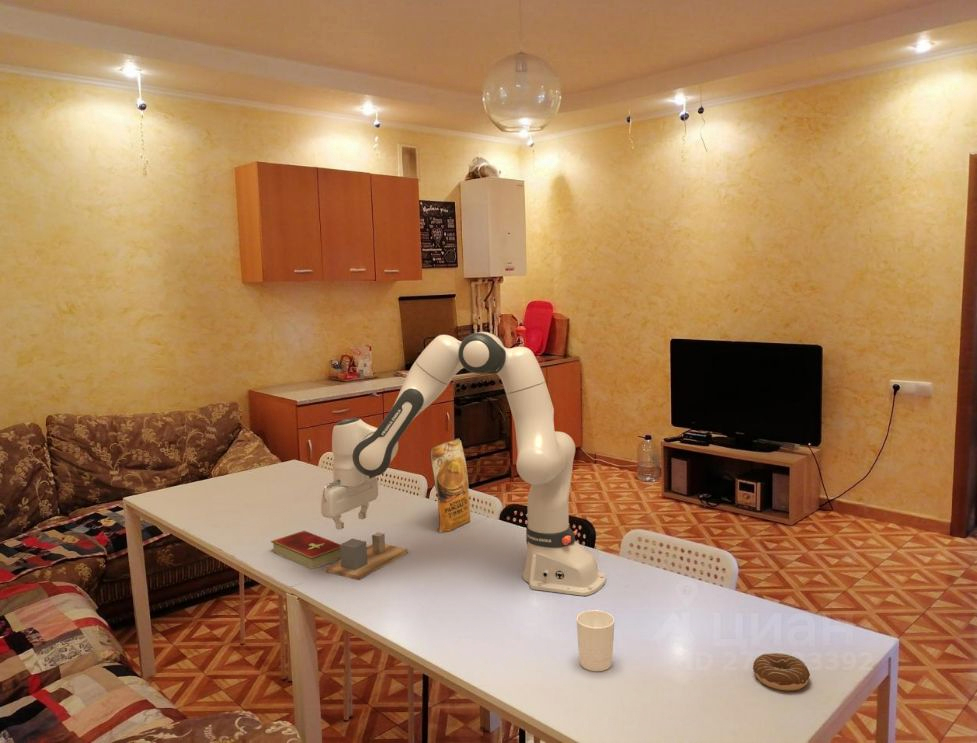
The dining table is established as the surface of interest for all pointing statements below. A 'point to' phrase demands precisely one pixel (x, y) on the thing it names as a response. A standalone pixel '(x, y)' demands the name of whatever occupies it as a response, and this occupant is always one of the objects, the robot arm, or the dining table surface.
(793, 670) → the donut
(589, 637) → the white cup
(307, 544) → the hardcover book
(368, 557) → the board
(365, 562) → the gray rectangular block
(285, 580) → the dining table surface
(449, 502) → the pancake mix bag
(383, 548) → the post
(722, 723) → the dining table surface
